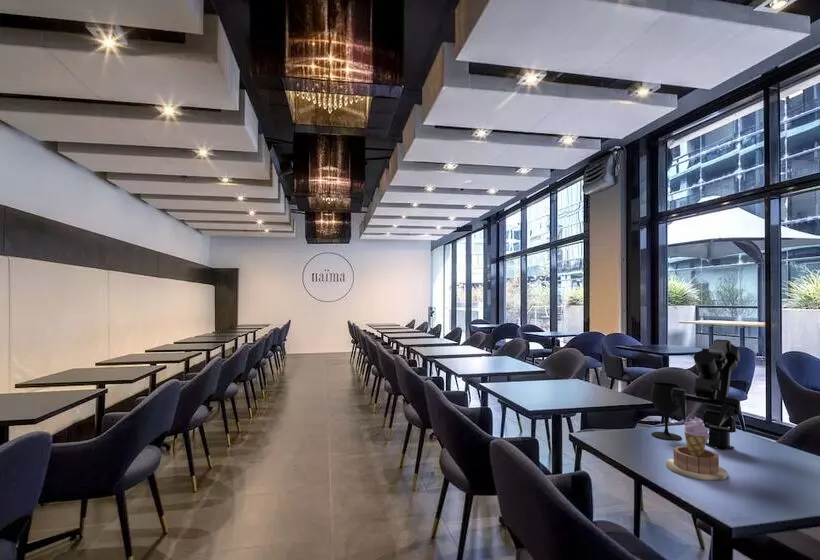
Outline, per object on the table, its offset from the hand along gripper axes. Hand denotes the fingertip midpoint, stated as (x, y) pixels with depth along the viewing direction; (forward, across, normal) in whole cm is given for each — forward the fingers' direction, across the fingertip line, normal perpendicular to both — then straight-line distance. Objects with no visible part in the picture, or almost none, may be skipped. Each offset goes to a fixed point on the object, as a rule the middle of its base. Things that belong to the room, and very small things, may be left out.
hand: (700, 423), depth 144 cm
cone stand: (+13, 0, +5) cm, 14 cm away
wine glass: (-8, -15, +30) cm, 35 cm away
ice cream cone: (+13, 0, +5) cm, 13 cm away
